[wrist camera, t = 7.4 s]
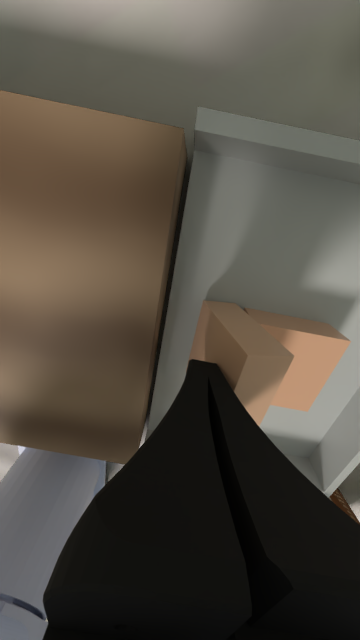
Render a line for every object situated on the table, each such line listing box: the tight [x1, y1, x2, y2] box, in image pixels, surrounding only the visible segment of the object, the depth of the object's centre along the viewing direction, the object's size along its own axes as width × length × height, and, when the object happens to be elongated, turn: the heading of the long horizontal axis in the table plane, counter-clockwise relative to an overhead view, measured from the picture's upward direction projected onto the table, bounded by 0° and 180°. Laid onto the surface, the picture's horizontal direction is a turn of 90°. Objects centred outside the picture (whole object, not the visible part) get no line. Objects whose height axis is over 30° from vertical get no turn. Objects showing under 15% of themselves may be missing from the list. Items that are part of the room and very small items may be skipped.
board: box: [0, 90, 187, 464], centre depth 12 cm, size 18×12×4 cm, turn 170°
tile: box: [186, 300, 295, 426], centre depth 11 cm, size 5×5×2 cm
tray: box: [144, 106, 360, 498], centre depth 13 cm, size 20×14×3 cm
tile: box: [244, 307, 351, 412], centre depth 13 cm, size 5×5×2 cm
